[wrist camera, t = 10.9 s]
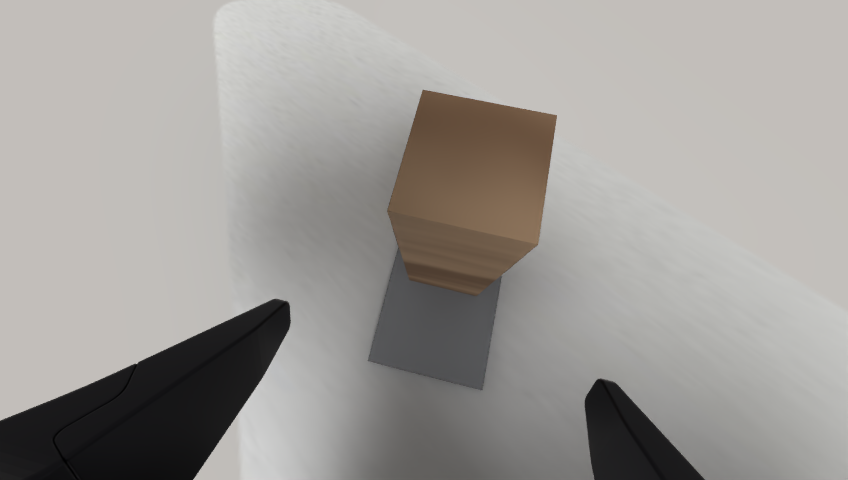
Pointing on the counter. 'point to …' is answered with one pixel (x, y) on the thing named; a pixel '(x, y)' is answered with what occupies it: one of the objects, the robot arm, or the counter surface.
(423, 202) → the walnut block
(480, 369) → the rubber mat
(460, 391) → the counter surface
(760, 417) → the counter surface
